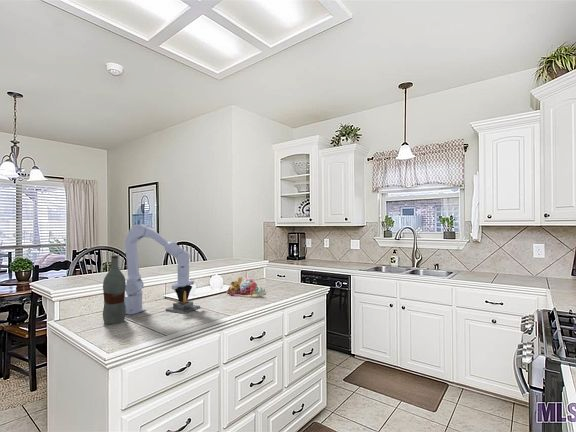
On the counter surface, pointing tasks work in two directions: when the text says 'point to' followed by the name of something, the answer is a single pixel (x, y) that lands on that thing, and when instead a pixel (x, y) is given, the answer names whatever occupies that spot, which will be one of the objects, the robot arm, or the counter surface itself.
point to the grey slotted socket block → (183, 307)
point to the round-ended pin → (184, 298)
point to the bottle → (114, 294)
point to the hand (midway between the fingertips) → (183, 300)
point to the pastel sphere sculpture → (245, 288)
